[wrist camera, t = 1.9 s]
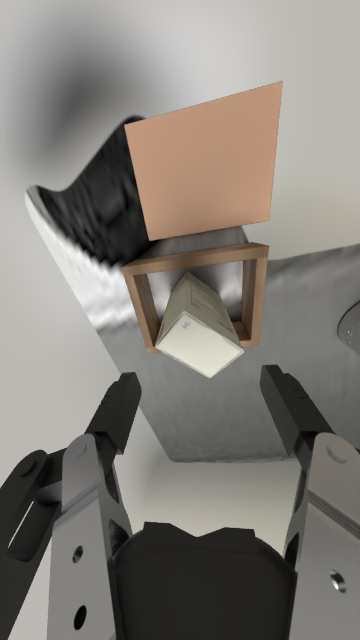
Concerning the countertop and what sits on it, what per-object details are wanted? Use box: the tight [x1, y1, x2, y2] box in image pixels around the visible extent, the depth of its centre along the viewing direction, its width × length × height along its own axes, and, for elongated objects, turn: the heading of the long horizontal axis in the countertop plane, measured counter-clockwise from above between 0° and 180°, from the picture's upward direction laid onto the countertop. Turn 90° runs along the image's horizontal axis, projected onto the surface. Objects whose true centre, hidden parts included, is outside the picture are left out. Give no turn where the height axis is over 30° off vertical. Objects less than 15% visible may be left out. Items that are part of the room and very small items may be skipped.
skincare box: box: [155, 272, 244, 378], centre depth 18 cm, size 6×4×12 cm
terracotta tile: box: [124, 81, 283, 241], centre depth 17 cm, size 14×10×1 cm
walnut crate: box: [121, 242, 269, 353], centre depth 21 cm, size 15×12×5 cm
